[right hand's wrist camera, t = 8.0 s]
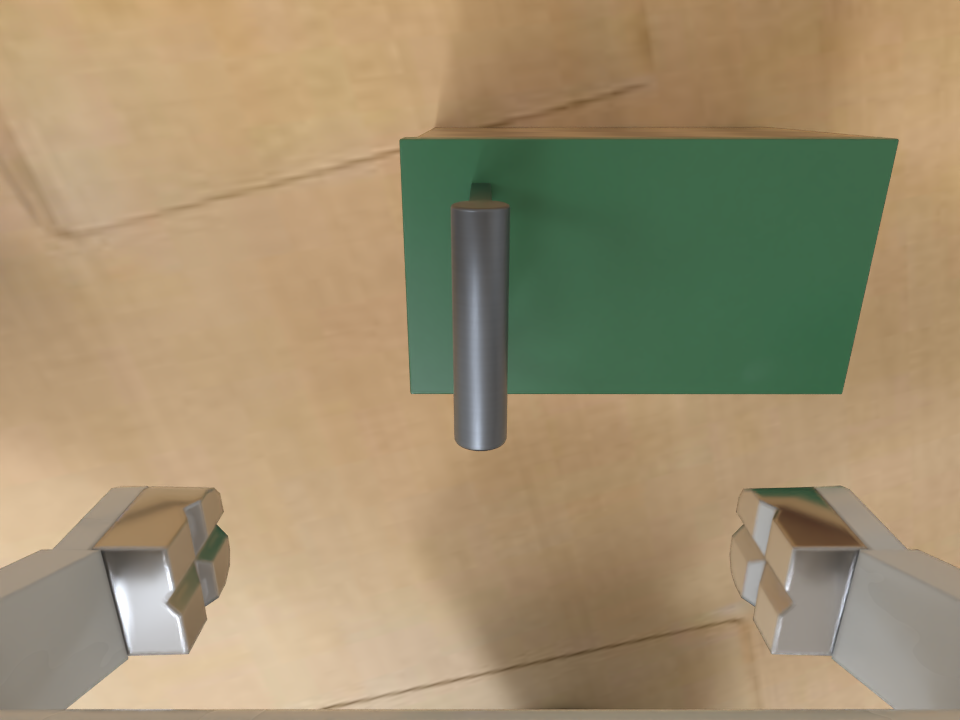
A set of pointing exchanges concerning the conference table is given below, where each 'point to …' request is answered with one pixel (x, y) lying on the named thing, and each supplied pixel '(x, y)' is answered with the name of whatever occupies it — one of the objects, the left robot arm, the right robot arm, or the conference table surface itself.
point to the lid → (634, 266)
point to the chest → (626, 132)
